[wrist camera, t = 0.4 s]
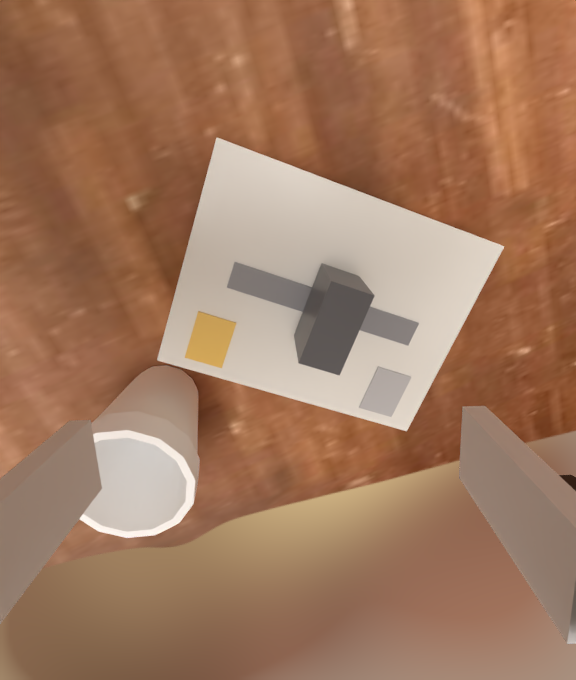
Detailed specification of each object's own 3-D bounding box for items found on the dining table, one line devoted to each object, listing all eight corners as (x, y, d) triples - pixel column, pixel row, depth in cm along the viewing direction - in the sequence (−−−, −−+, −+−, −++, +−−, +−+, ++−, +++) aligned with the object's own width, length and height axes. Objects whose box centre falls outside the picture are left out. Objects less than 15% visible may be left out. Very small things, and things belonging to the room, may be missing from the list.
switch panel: (224, 140, 35) (216, 137, 29) (469, 233, 38) (505, 247, 33) (171, 332, 41) (156, 361, 35) (388, 396, 44) (407, 432, 39)
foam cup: (207, 346, 41) (184, 424, 29) (221, 429, 45) (205, 530, 33) (105, 355, 41) (39, 438, 29) (127, 439, 45) (76, 543, 33)
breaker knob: (321, 263, 32) (331, 281, 28) (359, 276, 33) (374, 295, 28) (293, 335, 34) (298, 363, 30) (329, 346, 35) (339, 375, 30)
